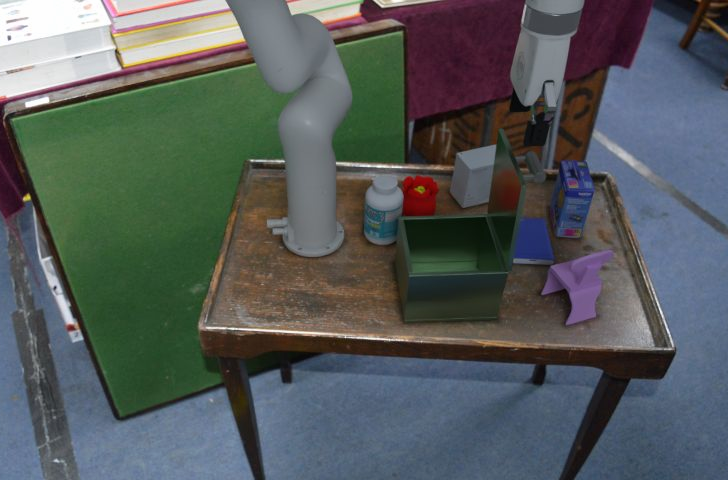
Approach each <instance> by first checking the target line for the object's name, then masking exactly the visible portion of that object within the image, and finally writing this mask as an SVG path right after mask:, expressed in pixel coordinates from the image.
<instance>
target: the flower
mask: <svg viewBox="0 0 728 480" xmlns="http://www.w3.org/2000/svg"><path fill="white" fill-rule="evenodd" d="M401 185H402V187H400V189H401V190H402V192H403V209H402V216H404V217H407V216H434V215H435V213H436V210H437V195H438V193H439V192H440V188H439V187H438V183H437V181H434V178H433V177H431V176H421V175H420V174H417V175H415V177H414V178H413V177H412V176H411V175H408V176H406V177H404V179H403V182H402V183H401Z"/></svg>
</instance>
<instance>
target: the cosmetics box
mask: <svg viewBox="0 0 728 480" xmlns="http://www.w3.org/2000/svg"><path fill="white" fill-rule="evenodd" d="M496 144H497V143H496ZM496 144H491V145H486V146H482V147H477V148H473V149H469V150H468V149H467V150H463V151H459V152H456V154H455V161H454V166H453V172H452V178H451V183H450V188H449V193H450V195H451V196H452V197H453V199H454V200H455V201H456V202H457V203H458V205H459V206H460V208H462V209H465V208H470V207H473V206H477V205H482V204H486V203H489V196H490V189H491V181H492V174H493V166H494V159H495V152H496Z"/></svg>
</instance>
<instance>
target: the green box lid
mask: <svg viewBox="0 0 728 480" xmlns="http://www.w3.org/2000/svg"><path fill="white" fill-rule="evenodd" d="M522 162H523V163H525V165H526V167H527V170H528V172H529V173H526V174H525V173H524V174H523V173H522V170H521V167H520V165H519V163H522ZM546 179H547V175H546V173H545V170H544V168H543V166H542V164H541V162H540V160H539V157H538V155H537V153H536V152H535V151H533V150H532V151H531V150H530V151H527V152H525V154H524V155H516V156H515V153H514V151H513V149H512V146H511V143H510V142H509V139H508V136H507V134H506V131H505V129H504V128H498V130H497V137H496V152H495V159H494V166H493V174H492V181H491V189H490V196H489V202H487V203H488V204H487V214H488V215H489V218H490V221H491V224H492V227H493V230H494V234H495V237H496V240H497V243H498V246H499V249H500V252H501V255H502V258H503V261H504V264H505V267H506V270H507V271H508V272H509V271H511V272H512V269H513V264H514V263H513V259H514V254H515V248H516V243H517V237H518V232H519V226H520V221H521V218H522V216H523V209H524V204H525V200H526V199H525V198H526V193H527V187H528V184H527V182H526V181H533V183H535V184H542V183H543V182H545V181H546Z"/></svg>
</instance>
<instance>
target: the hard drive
mask: <svg viewBox="0 0 728 480" xmlns="http://www.w3.org/2000/svg"><path fill="white" fill-rule="evenodd" d="M554 256H555V254H554V252H553V248H552V243H551V238H550V234H549V230H548V226H547V221H546V219H545V218H535V217H521V221H520V226H519V232H518V237H517V243H516V248H515V254H514V259H513V264H519V265H523V264H524V265H543V266H552V265H555V261H556V260H555V257H554Z"/></svg>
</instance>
